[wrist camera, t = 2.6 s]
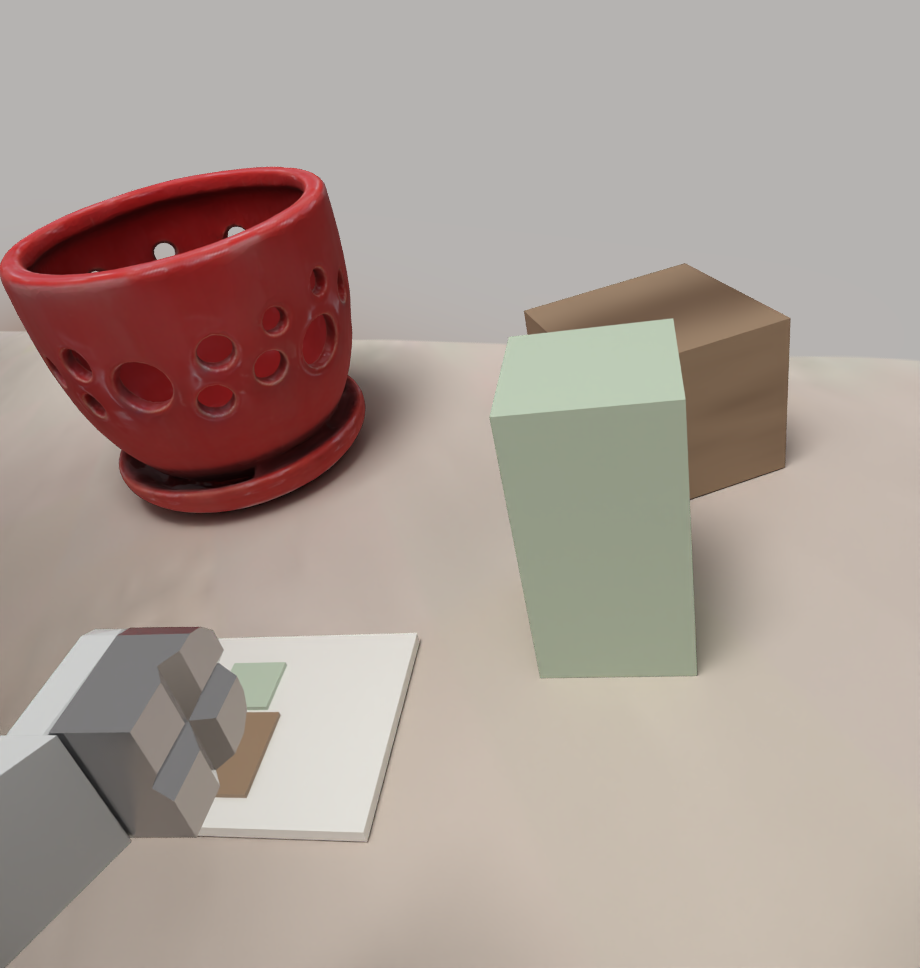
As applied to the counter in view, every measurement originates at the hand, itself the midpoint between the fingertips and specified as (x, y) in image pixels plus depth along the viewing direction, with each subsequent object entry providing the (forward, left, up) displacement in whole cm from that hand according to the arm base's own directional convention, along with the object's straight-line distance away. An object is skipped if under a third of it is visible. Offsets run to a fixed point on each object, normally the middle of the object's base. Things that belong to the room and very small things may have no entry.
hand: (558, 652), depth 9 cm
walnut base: (-19, +11, -12) cm, 25 cm away
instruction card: (-12, -7, -12) cm, 18 cm away
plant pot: (-29, -5, -12) cm, 32 cm away
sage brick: (-11, +5, -12) cm, 17 cm away
